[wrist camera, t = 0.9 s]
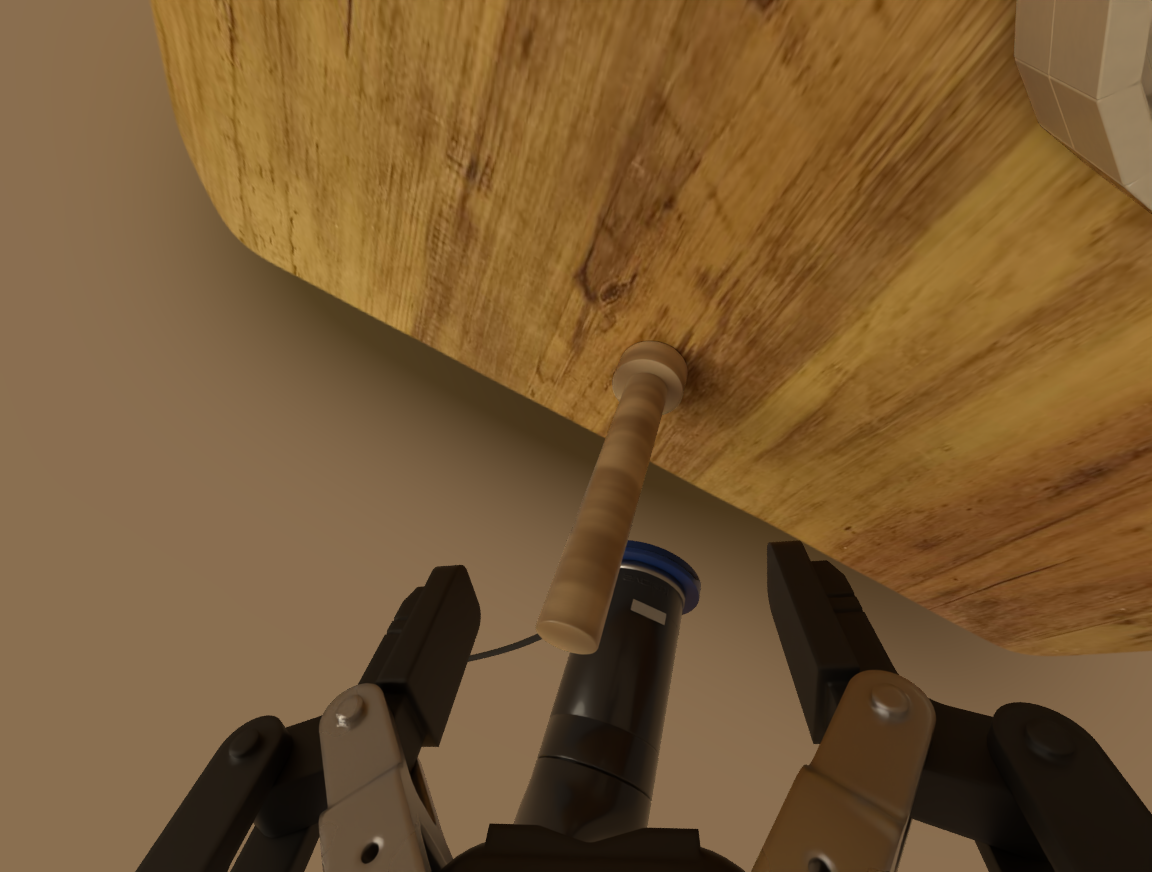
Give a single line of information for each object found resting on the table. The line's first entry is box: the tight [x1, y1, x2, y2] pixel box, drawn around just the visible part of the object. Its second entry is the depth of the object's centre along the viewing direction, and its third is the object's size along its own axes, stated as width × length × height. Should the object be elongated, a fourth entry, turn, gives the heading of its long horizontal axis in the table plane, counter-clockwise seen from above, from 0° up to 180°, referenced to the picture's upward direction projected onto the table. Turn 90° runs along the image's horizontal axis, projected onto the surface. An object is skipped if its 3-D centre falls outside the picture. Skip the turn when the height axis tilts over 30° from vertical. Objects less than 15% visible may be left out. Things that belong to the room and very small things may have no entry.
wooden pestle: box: [536, 341, 688, 654], centre depth 25 cm, size 4×4×18 cm
